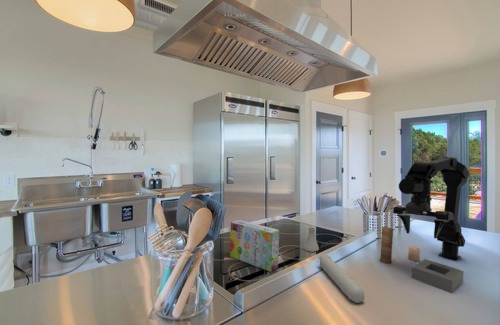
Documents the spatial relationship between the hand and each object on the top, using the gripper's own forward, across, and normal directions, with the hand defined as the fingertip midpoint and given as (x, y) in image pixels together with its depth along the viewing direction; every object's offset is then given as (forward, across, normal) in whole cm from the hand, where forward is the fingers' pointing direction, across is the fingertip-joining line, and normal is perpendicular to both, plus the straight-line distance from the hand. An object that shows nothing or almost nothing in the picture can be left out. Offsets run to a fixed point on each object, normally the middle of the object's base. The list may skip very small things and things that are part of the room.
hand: (421, 235), depth 97 cm
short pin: (+12, -7, +11) cm, 18 cm away
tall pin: (+13, -13, -1) cm, 18 cm away
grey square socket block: (+14, +5, 0) cm, 15 cm away
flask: (+13, -38, -18) cm, 44 cm away
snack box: (+16, -42, -48) cm, 66 cm away
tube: (+17, -13, -32) cm, 38 cm away
